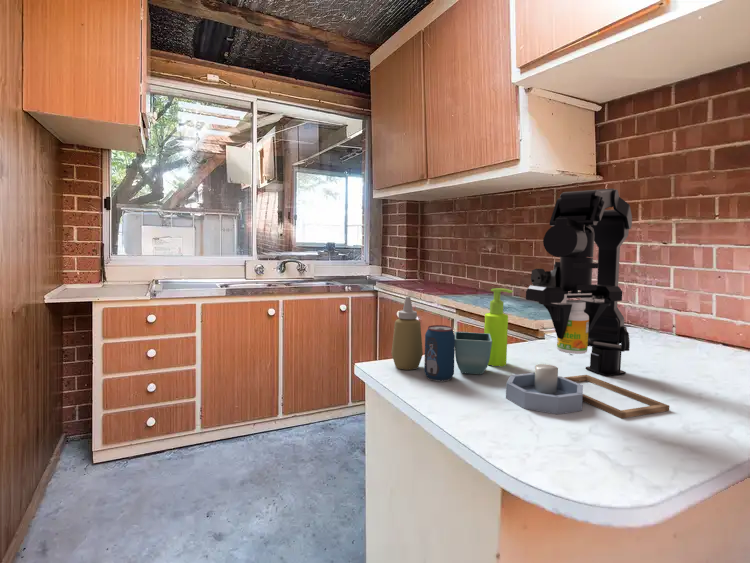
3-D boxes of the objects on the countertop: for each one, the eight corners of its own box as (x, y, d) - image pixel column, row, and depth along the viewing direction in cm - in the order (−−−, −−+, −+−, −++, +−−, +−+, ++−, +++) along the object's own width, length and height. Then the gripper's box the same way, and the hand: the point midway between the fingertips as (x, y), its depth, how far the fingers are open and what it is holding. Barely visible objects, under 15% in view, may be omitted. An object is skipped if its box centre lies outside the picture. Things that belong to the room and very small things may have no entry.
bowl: (547, 385, 94) (548, 371, 94) (598, 408, 81) (599, 392, 81) (494, 391, 90) (494, 376, 90) (538, 416, 77) (539, 399, 76)
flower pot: (491, 378, 99) (492, 340, 98) (453, 375, 101) (454, 338, 100) (488, 367, 108) (489, 333, 107) (453, 365, 109) (454, 331, 108)
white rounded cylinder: (546, 385, 91) (547, 363, 91) (561, 392, 87) (562, 369, 87) (529, 387, 90) (530, 365, 89) (544, 395, 86) (545, 371, 85)
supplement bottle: (554, 351, 81) (556, 301, 80) (559, 346, 85) (561, 298, 85) (585, 355, 78) (588, 303, 77) (588, 349, 82) (591, 300, 82)
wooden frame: (586, 378, 99) (586, 374, 99) (669, 410, 80) (669, 405, 80) (544, 383, 95) (544, 379, 95) (621, 418, 76) (621, 413, 76)
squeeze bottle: (389, 362, 111) (390, 295, 109) (419, 362, 112) (420, 295, 110) (393, 372, 103) (394, 299, 101) (425, 371, 104) (427, 299, 102)
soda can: (453, 373, 102) (454, 325, 101) (454, 383, 95) (455, 331, 94) (424, 372, 103) (425, 324, 102) (423, 381, 96) (424, 329, 95)
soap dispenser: (506, 368, 107) (509, 290, 105) (480, 364, 110) (482, 288, 109) (512, 363, 112) (515, 288, 110) (487, 359, 115) (489, 286, 114)
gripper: (580, 256, 91) (576, 328, 92) (509, 255, 85) (505, 332, 86) (626, 258, 81) (621, 338, 82) (549, 256, 74) (544, 343, 76)
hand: (571, 337), depth 82 cm, fingers closed on supplement bottle, 5 cm apart
